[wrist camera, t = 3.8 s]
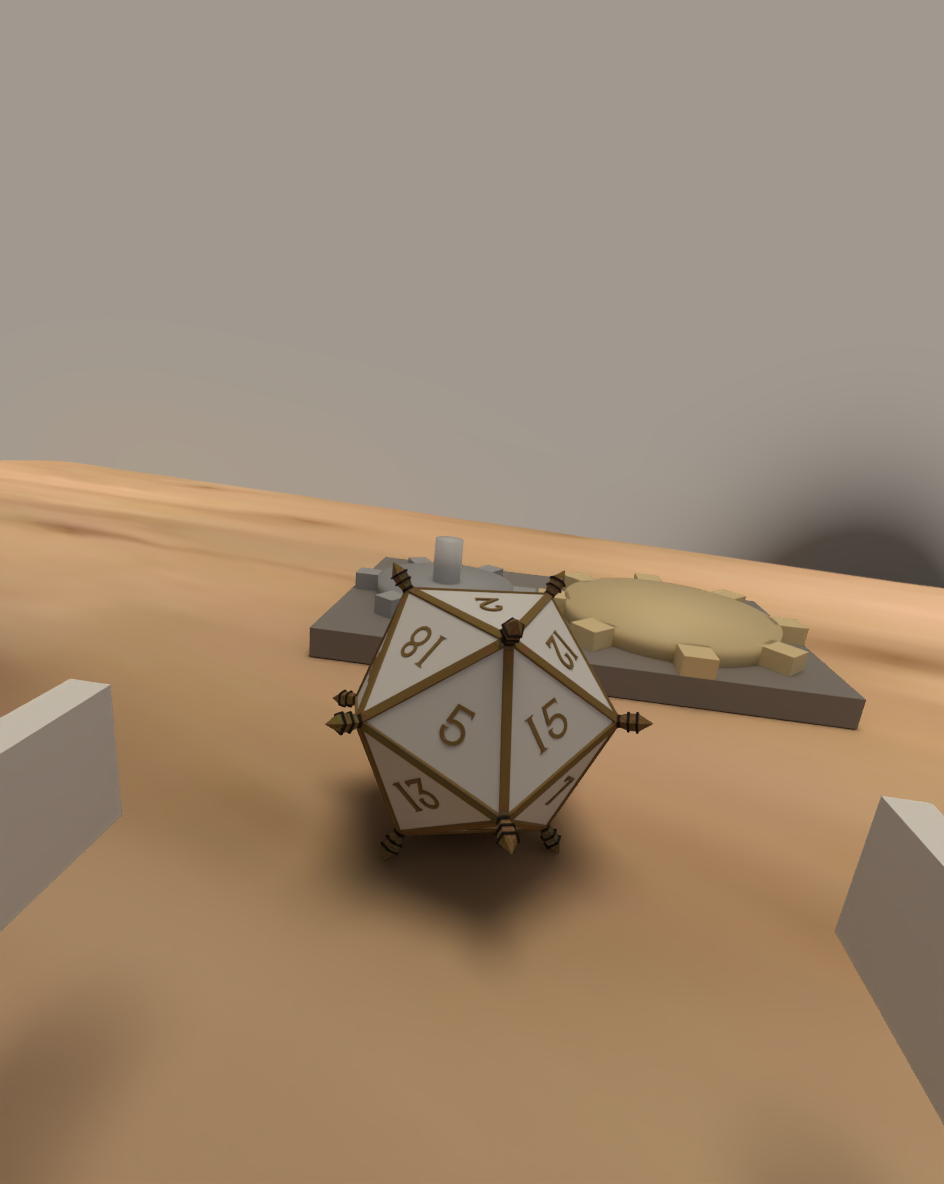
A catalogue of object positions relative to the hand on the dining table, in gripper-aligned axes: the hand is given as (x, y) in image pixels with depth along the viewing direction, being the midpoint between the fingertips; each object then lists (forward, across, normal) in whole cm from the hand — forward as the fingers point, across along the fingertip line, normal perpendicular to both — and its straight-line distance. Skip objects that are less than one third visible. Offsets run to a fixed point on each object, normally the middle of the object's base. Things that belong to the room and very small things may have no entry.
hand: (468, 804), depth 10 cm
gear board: (+25, +4, -6) cm, 26 cm away
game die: (+7, 0, -6) cm, 9 cm away
